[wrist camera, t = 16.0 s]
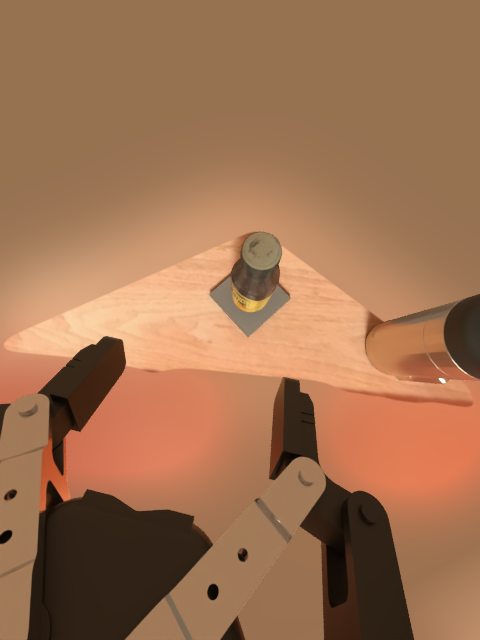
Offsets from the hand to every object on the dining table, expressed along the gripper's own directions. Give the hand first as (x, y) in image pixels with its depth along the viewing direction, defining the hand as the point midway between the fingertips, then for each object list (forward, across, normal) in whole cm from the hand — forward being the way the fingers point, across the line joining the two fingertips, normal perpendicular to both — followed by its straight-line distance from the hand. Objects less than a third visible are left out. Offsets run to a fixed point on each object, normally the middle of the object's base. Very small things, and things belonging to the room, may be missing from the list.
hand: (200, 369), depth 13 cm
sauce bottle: (+30, -1, +13) cm, 33 cm away
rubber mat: (+31, -1, +14) cm, 34 cm away
